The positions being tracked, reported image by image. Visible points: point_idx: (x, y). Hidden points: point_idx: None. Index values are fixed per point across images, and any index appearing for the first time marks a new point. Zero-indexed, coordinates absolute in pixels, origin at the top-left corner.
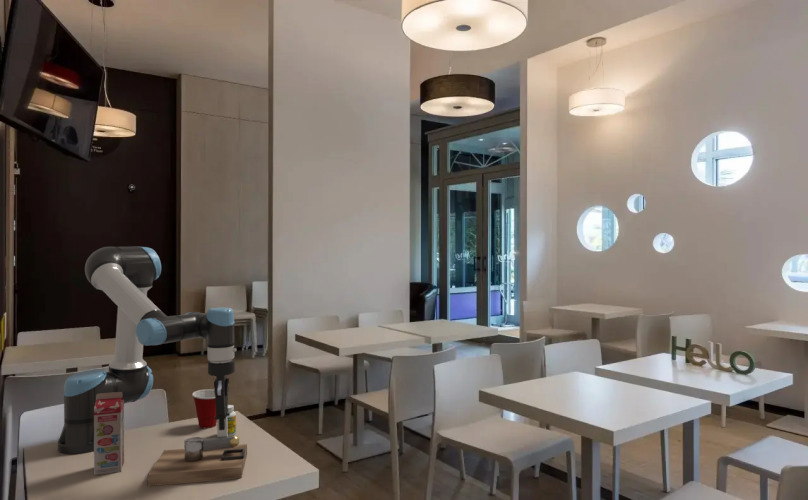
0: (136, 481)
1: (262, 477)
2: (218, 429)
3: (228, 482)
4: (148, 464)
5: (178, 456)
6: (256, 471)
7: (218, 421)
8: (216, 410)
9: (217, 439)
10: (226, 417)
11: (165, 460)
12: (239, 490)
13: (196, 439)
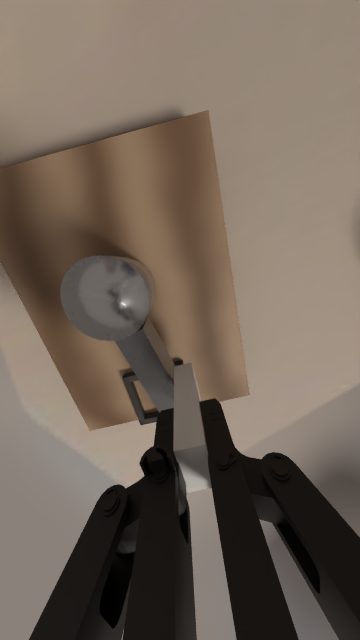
0: (16, 125)
1: (109, 442)
2: (174, 402)
3: None
4: (161, 86)
5: (143, 218)
6: (137, 425)
7: (175, 439)
8: (39, 627)
9: (143, 386)
10: (199, 488)
11: (98, 182)
12: (42, 423)
13: (116, 310)
